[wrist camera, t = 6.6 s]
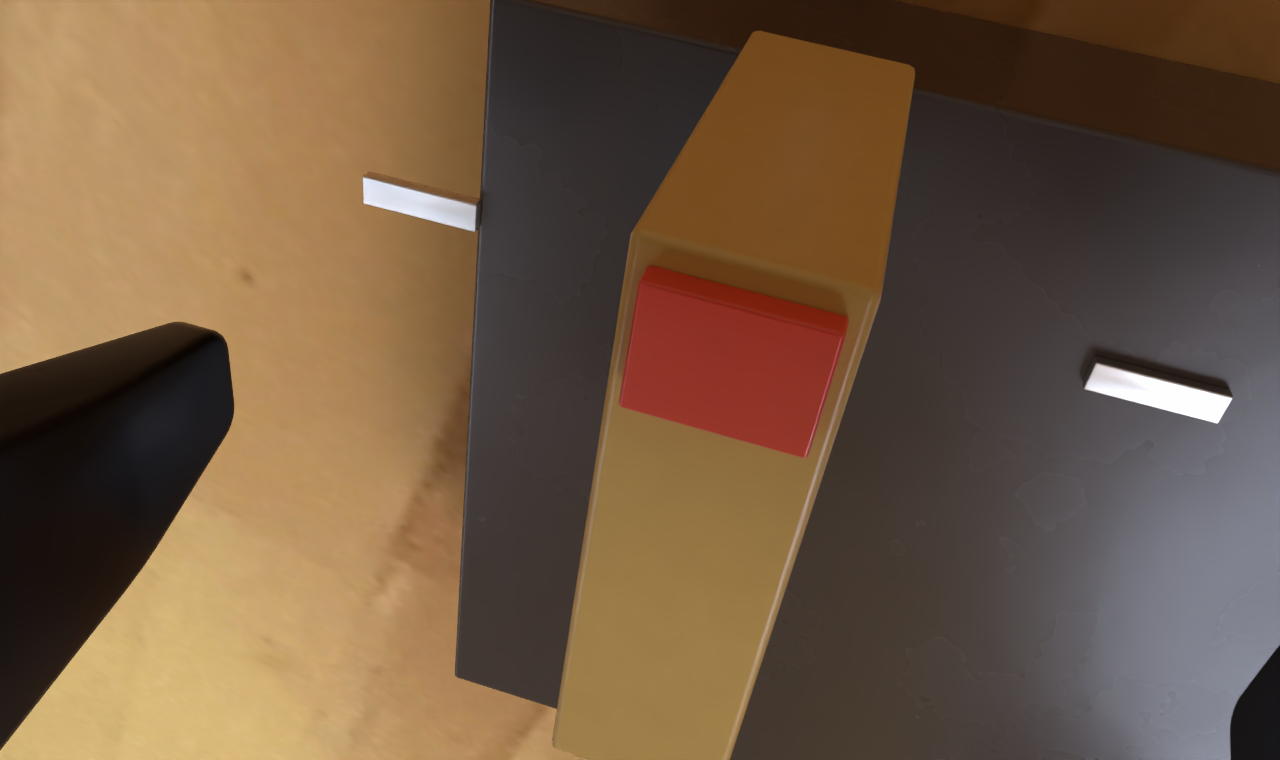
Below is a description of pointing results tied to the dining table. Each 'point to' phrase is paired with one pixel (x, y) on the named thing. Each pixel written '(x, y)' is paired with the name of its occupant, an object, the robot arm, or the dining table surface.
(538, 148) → the plate
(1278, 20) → the dining table surface
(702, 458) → the lock turn
